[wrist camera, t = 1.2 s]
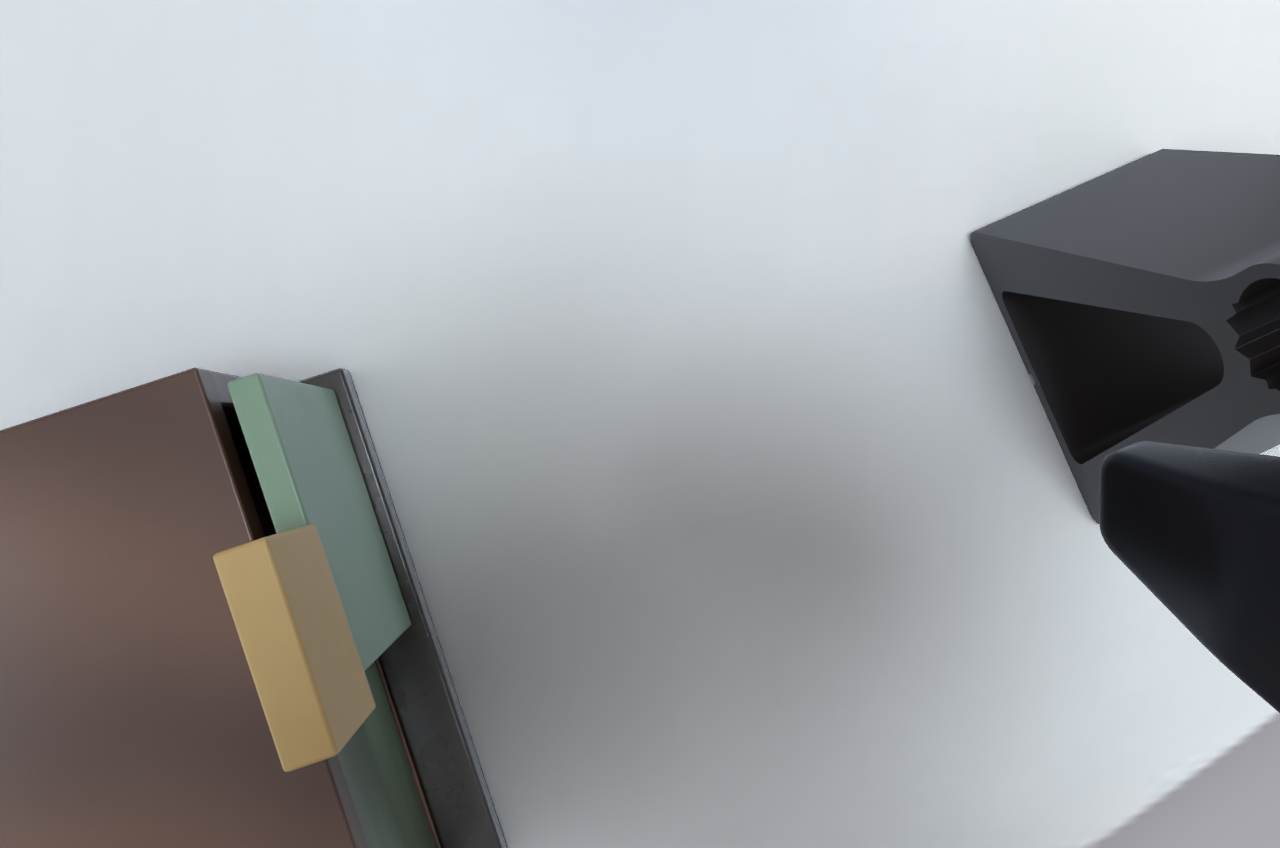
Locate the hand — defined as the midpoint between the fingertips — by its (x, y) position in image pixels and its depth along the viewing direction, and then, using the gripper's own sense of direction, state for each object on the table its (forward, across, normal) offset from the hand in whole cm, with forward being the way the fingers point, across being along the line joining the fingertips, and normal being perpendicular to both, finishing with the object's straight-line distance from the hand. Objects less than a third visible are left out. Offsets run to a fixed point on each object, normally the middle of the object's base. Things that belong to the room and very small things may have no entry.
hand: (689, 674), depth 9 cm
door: (+18, +3, +7) cm, 20 cm away
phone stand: (+14, -18, +8) cm, 25 cm away
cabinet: (+18, +8, +10) cm, 23 cm away
